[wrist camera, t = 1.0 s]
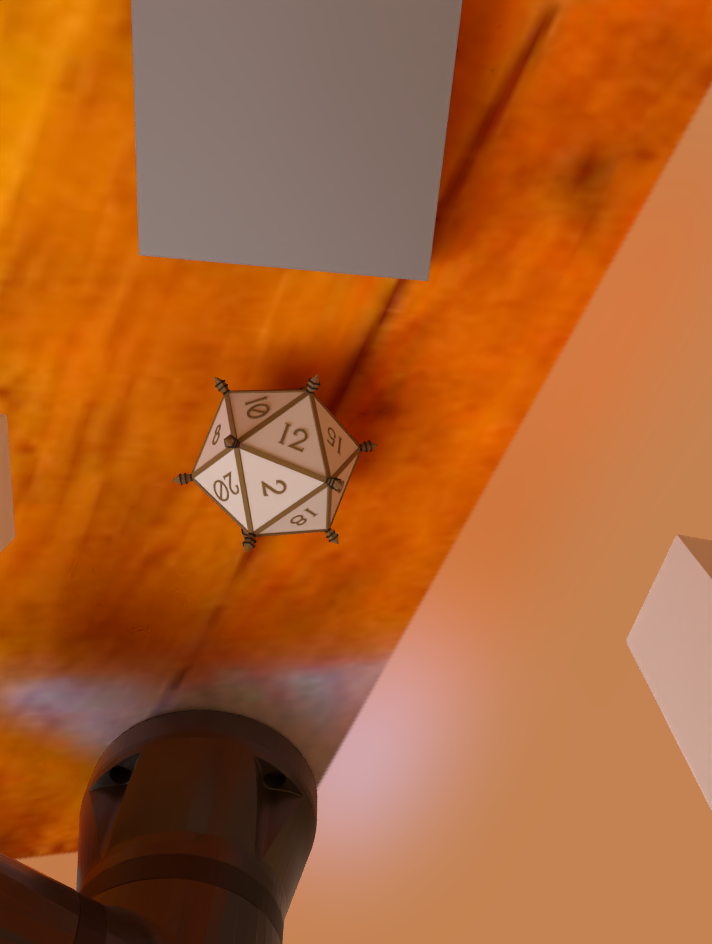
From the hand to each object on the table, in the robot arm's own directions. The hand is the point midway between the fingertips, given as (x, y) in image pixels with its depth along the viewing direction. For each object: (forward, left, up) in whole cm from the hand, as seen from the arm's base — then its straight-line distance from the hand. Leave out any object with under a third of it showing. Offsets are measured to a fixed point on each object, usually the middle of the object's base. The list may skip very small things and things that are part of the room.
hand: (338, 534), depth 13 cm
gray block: (+10, +2, -21) cm, 24 cm away
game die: (-5, +2, -22) cm, 22 cm away
